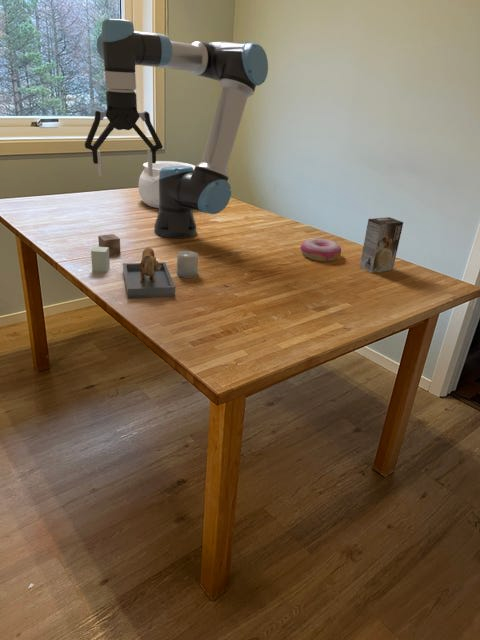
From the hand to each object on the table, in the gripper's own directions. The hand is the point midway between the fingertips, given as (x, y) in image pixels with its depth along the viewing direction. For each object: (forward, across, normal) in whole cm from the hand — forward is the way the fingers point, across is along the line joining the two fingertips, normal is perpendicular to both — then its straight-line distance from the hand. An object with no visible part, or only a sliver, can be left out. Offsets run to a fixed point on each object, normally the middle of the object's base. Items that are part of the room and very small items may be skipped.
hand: (125, 175), depth 132 cm
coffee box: (+27, -77, +16) cm, 83 cm away
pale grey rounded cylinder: (+26, -15, +11) cm, 32 cm away
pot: (+28, -26, -69) cm, 79 cm away
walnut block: (+26, +5, -10) cm, 28 cm away
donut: (+28, -63, +2) cm, 69 cm away
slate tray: (+25, -2, +17) cm, 31 cm away
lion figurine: (+24, -3, +15) cm, 29 cm away
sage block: (+25, +9, +4) cm, 27 cm away
